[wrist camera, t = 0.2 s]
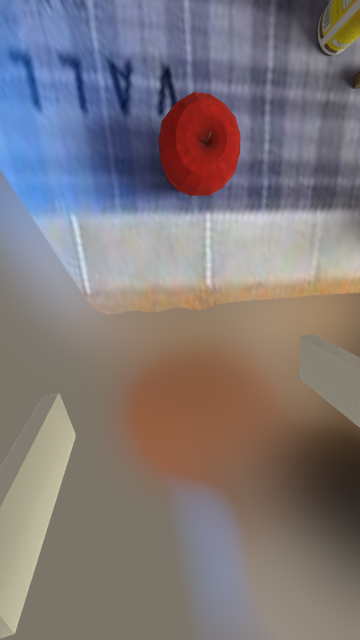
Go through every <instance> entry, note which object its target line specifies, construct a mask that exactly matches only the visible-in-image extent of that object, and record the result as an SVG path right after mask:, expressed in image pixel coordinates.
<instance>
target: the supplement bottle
mask: <svg viewBox="0 0 360 640" xmlns="http://www.w3.org/2000/svg"><path fill="white" fill-rule="evenodd" d="M359 36H360V0H331V1H330V2H329V4H328V5H327V6H326V8H325V9H324V11H323V13H322V15H321V17H320V20H319V24H318V40H319V44H320V46H321V48H322V49H323V51H324V52H325V53H327V54H329V55H337V54H339V53H341V52H343V51H344V50H345V49H346V48H347V47H348V46H349V45H350V44H352V43H353V42H354V41H355V40H356V39H357V38H358V37H359Z"/></svg>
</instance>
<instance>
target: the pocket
mask: <svg viewBox="0 0 360 640" xmlns="http://www.w3.org/2000/svg"><path fill="white" fill-rule="evenodd" d="M354 88H360V72H359V73H357V74H356V75H355V76H354Z"/></svg>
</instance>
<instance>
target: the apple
mask: <svg viewBox="0 0 360 640" xmlns="http://www.w3.org/2000/svg"><path fill="white" fill-rule="evenodd" d="M159 149H160V158H161V163H162V167H163V169H164V172H165V174H166V177H167V179H168V181H169V182H170V183H171V184H172V185H173V186H174V187H175V188H176V189H177V190H178V191H180V192H182V193H185V194H187V195H190V196H206V195H211V194H213V193H214V192H216V191H218V190H220V189H221V188H223V186H224V185H225V184H226V183H227V182H228V180H229V179H230V178H231V177H232V176H233V174H234V172H235V169H236V166H237V162H238V158H239V155H240V132H239V128H238V125H237V121H236V117H235V116H234V115H233V113H232V112H231V111H230V110H229V108H228V107H227V106H226V105H225V103H223V102H222V101H220V100H219V99H217V98H215V97H214V96H212V95H211V94H204V93H196V92H194V93H192V94H190V95H188V96H186V97H185V98H183V99H181V100H179V101H178V102H177V103H176V104H175V105H174V106H173V107H172V108H171V110H170V111H169V112H168V114H167V115H166V116H165V118H164V119H163V120H162V123H161V130H160V136H159Z"/></svg>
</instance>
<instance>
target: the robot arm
mask: <svg viewBox="0 0 360 640" xmlns="http://www.w3.org/2000/svg"><path fill="white" fill-rule="evenodd" d="M300 340H301V341H300V368H299V369H300V370H299V378H300V379H301V380H302V381H304V382H305V383H306V384H307V385H308V386H310V387H311V388H312V389H313V390H314V391H316V392H317V393H318V394H319V395H321V396H322V397H323V398H324V399H325V400H327V401H328V402H329V403H330V404H332V405H333V406H334V407H335V408H336V409H338V410H339V411H340V412H341V413H343V414H344V415H345V416H346V417H348V418H349V419H350V420H351V421H352V422H354V423H355V424H356V425H358V426H359V427H360V358H359V357H357V356H355V355H353V354H351V353H349V352H347V351H345V350H343V349H341V348H339V347H337V346H335V345H333V344H331V343H329V342H327V341H326V340H323V339H321V338H320V337H317V336H316V335H314V334H311V335H307V336H303V337H301V339H300ZM75 436H76V435H75V432H74V430H73V427H72V425H71V422H70V420H69V417H68V415H67V412H66V409H65V407H64V405H63V402H62V399H61V397H60V394H59V393H56V394H52V395H47V396H43V397H42V398H41V400H40V402H39V403H38V405H37V407H36V408H35V410H34V412H33V413H32V415H31V417H30V418H29V420H28V422H27V423H26V425H25V427H24V428H23V430H22V431H21V433H20V435H19V436H18V438H17V440H16V441H15V443H14V445H13V446H12V448H11V450H10V451H9V453H8V455H7V456H6V458H5V460H4V461H3V463H2V464H1V466H0V639H1V638H3V637H6V636H9V635H12V634H14V633H15V631H16V628H17V624H18V621H19V618H20V615H21V611H22V608H23V605H24V602H25V599H26V595H27V592H28V588H29V586H30V582H31V579H32V576H33V572H34V569H35V566H36V563H37V560H38V556H39V553H40V550H41V546H42V543H43V540H44V537H45V534H46V530H47V527H48V524H49V521H50V517H51V514H52V511H53V508H54V504H55V501H56V498H57V495H58V491H59V488H60V485H61V482H62V479H63V475H64V472H65V469H66V466H67V462H68V459H69V456H70V452H71V449H72V446H73V443H74V440H75Z"/></svg>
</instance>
